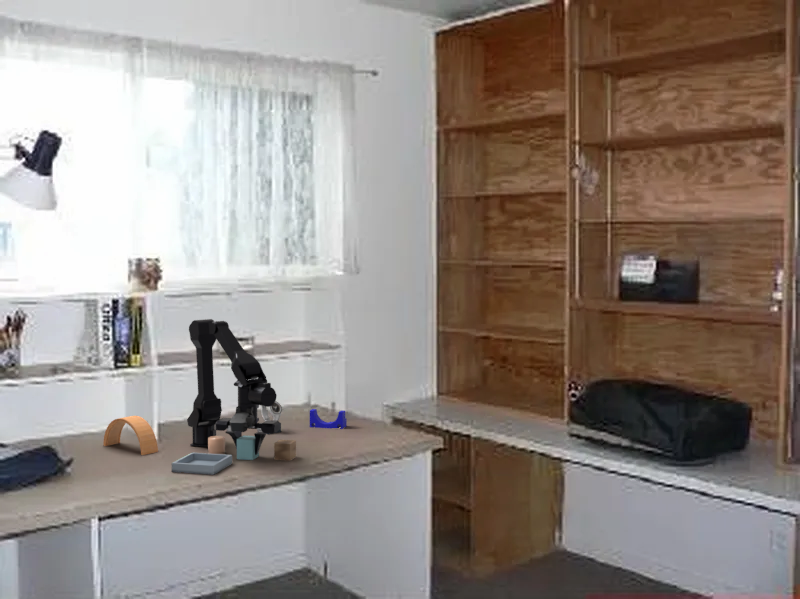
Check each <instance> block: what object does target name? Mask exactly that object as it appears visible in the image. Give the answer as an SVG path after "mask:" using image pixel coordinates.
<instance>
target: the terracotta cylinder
mask: <svg viewBox="0 0 800 599" xmlns="http://www.w3.org/2000/svg"><path fill="white" fill-rule="evenodd" d="M207 449H208V450H207V451H208V452H207V453H209V454H225V455H226V437H225V436H224V435H216V436H211V437H208V447H207Z"/></svg>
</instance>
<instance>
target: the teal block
mask: <svg viewBox="0 0 800 599" xmlns="http://www.w3.org/2000/svg"><path fill="white" fill-rule="evenodd" d="M259 457H260V451H259V452H258V454H257V455H255V435H242V436H241V437H240V438H238V439H237V449H236V460H244V461H245V460H246V461H254V460H256V458H259Z"/></svg>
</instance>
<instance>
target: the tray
mask: <svg viewBox="0 0 800 599" xmlns="http://www.w3.org/2000/svg"><path fill="white" fill-rule="evenodd" d="M232 464H233V454H226V453H225V454H209V453H208V452H207V453H205V452H191V453H189V454H187V455H185V456H183V457H180V458H179V459H177V460H175V461H173V462H171V472H172V473H181V472H184V474H197V475H198V474H200V475H209V476H210V475H212V476H213V475H216V474H217V473H219V472H220V471H222V470H224V469H226V468H228V467H229V466H231V465H232Z"/></svg>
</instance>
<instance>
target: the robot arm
mask: <svg viewBox="0 0 800 599" xmlns="http://www.w3.org/2000/svg"><path fill="white" fill-rule="evenodd" d="M188 332H189V338H190V341H191V342H192V344H193V346H194V347H195V350H196V351H195V354H196V373H197V375H196V376H197V377H196V378H197V395H196V397H195V399H194V401H193V404H192V412H191V413H190V414H189V416H188V418H186V421H187V426H188V427H189V428H190V427H191V428H192V432H191V433H192V435H191V436H192V442H191V443H189V446H190V447H191V446H192V447H207V448H208V437H211V436H217V431H220V432H222V431H224V432H225V434H227V435H229V436H230V437H231V439H232V441H233V442H234V445H235V448H236V450H237V439H238V438H240V437H241V436H243V435H242V433H245V432H247V431H248V429H249V430H251V429H252V430H256V432H254V435H253V436H255V455H257V454H258V452H259V453H260V449H261V447H262V444H263V442H264V440H265V437H266V436H267V435H269V434H268V433H273V434H277V433H276V432H277V431H279V430H280V423H281V422H280V420H278V421H275V420H273V419H270V420H267V421H263V422H260V417H258V409H259V408H260V407H261V406H265V407H266V408H268V407H270V406H272V405H273V404H274V403H275V401H277V396H278V395H277V393H276V390H275V389H274V388H273V387H272V385H271V382H268V380H267V376H266V374H265V372H264V371H263V370H264V369H263V368H262V365H261V363H260V361H259V360H258V359H257V358H256V357H255V356H254V355H252V354H250V353H249V352H246V351H245V349H244V348H243V346H242V344H240V342H239V341H238V339H237V337H236V336H235V334H234V333H233V332H232V330H231V329H230V326H229V324H228V321H224V320H219V321H217V320H216V321H215V320H214V319H212V318H207V319H206V318H205V319H195V320H192V321H191V323H190V324H189V326H188ZM216 342H218V344H219V345H220V346H221V348H222V350H223V351H224V352H225V354H226V355H227V357H228V358H229V360H230V362H231V364H230V365H231V366H230V368H231V371H232V373H233V375H234V378H235V379H236V381H235V382H234V383H233V386H235V387H237V406H236V407H235V413H234V414H233V415H232V417H223V418H221V417H222V411H223V409H222V399H221V398H218V397H217V395H216V393H215V381H214V380H215V379H214V378H215V376H214V362H213V360H214V357H213V356H214V354H213V353H214V352H213V347H214V345H215V343H216Z"/></svg>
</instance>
